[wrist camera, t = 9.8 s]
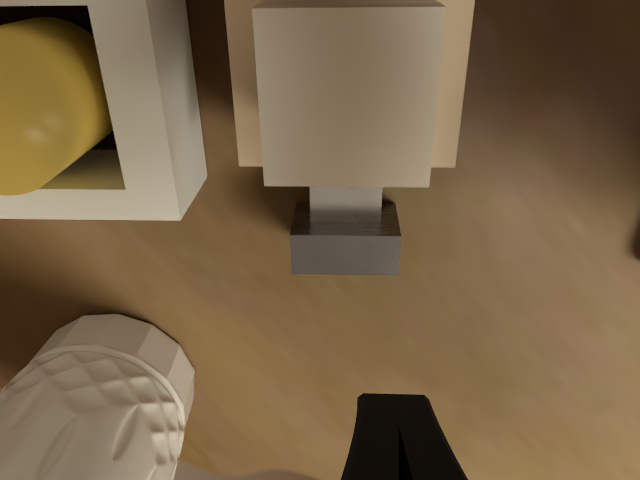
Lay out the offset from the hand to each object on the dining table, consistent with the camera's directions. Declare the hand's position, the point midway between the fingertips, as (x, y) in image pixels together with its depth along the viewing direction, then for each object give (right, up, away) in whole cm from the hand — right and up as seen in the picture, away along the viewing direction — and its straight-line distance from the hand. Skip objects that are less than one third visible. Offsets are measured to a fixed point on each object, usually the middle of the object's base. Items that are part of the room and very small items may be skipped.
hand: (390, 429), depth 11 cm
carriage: (-1, +10, +6) cm, 12 cm away
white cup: (-10, -2, +13) cm, 17 cm away
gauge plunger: (-10, +9, +6) cm, 14 cm away
